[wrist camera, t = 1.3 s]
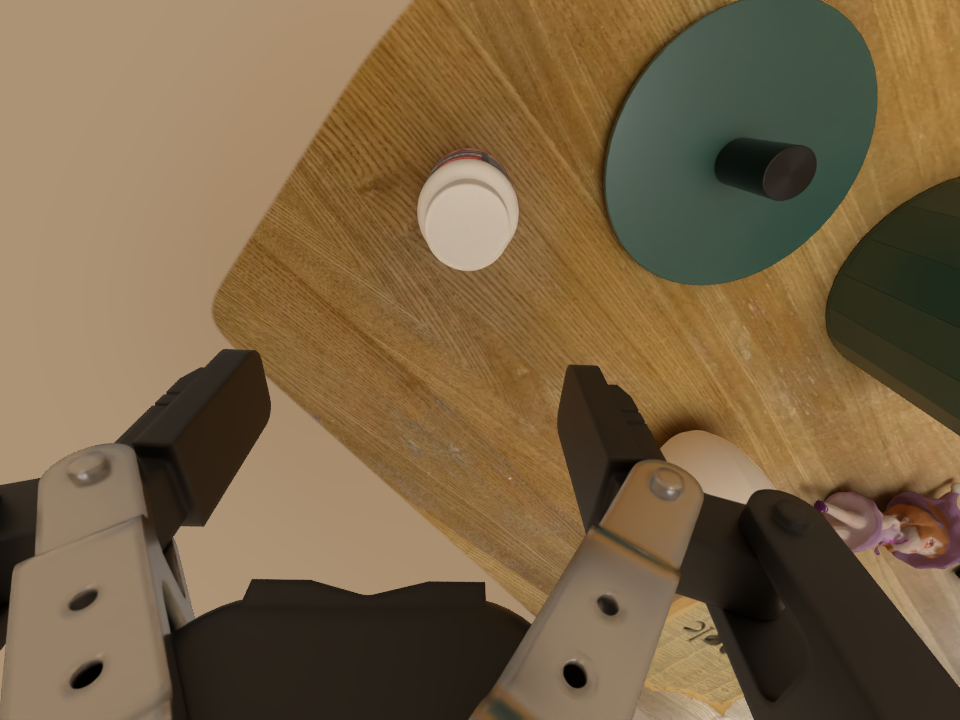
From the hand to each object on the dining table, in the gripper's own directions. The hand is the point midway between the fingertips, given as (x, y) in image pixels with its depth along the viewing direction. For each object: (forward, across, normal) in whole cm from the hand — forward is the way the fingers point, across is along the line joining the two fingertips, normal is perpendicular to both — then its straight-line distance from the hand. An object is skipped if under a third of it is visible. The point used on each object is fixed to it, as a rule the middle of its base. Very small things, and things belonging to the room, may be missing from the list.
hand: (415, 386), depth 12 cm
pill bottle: (+20, -1, -2) cm, 20 cm away
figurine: (+20, -42, +24) cm, 52 cm away
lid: (+19, -17, -4) cm, 26 cm away
